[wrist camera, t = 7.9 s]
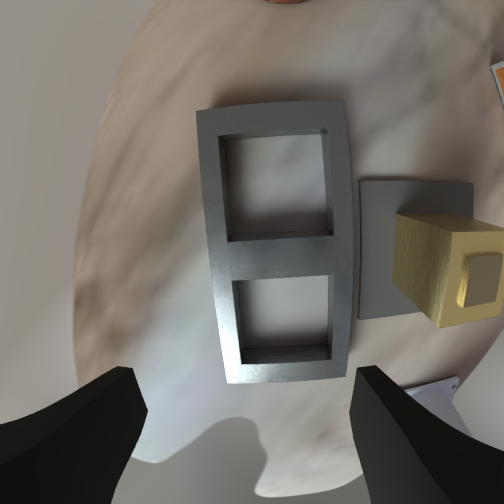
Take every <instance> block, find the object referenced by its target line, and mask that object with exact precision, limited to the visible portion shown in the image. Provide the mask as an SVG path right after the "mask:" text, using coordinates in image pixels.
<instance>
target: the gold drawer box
mask: <svg viewBox="0 0 504 504" xmlns="http://www.w3.org/2000/svg"><path fill="white" fill-rule="evenodd" d="M392 283H393V284H394V285H395V286H396V287H397V288H398V289H399V290H400V291H401V292H402V293H403V294H405V295H406V296H407V297H408V298H409V299H410V300H411V301H412V302H413V303H414V304H415V305H416V306H417V307H418V308H419V309H420V310H421V311H422V312H423V313H424V314H425V315H426V316H427V317H428V318H429V319H430V320H431V321H432V322H433V323H434V324H435V325H436V326H437V327H438V328H444V327H449V326H455V325H459V324H464V323H469V322H473V321H478V320H482V319H486V318H490V317H495V316H498V315H500V313H501V309H502V304H503V300H504V228H502V227H499V226H495V225H492V224H489V223H485V222H481V221H478V220H474V219H470V218H466V217H463V216H459V215H455V214H451V213H395V242H394V261H393V275H392Z"/></svg>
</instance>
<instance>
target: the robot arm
mask: <svg viewBox="0 0 504 504" xmlns="http://www.w3.org/2000/svg"><path fill="white" fill-rule="evenodd" d="M459 380H460V379H459V377H458V376H455V377H451V378H448V379H445V380H441V381H437V382H434V383H430V384H426V385H422V386H418V387H414V388H409V389H405V390H403V389H402V388H401V387H399V386H398V385H397V384H396V383H395V382H394V381H393V380H392V379H390V378H389V377H388V376H387V375H386V374H385V373H384V372H383V371H382V370H380V369H379V368H378V367H377V366H376V365H373V366H366V367H358V368H357V371H356V378H355V384H354V390H353V395H352V401H351V406H350V411H349V415H350V421H351V427H352V433H353V439H354V442H355V446H356V449H357V453H358V456H359V459H360V463H361V466H362V470H363V473H364V476H365V480H366V483H367V487H368V490H369V495H370V499H371V504H504V451H502V450H499V449H497V448H494V447H492V446H489V445H487V444H484V443H482V442H480V441H478V440H476V439H474V438H473V436H472V435H471V433H470V431H469V430H468V428H467V427H466V425H465V423H464V422H463V420H462V419H461V417H460V415H459V414H458V412H457V411H456V409H455V408H454V406H453V404H452V403H451V401H452V399H453V396H454V394H455V391H456V389H457V386H458V383H459ZM147 413H148V409H147V407H146V404H145V402H144V399H143V396H142V394H141V391H140V388H139V386H138V383H137V380H136V377H135V374H134V371H133V368H128V367H120V366H117V367H115V368H113V369H111V370H109V371H108V372H106V373H104V374H103V375H101V376H99V377H98V378H96V379H94V380H93V381H91V382H90V383H88V384H86V385H85V386H83V387H81V388H80V389H78V390H77V391H75V392H73V393H72V394H70V395H68V396H66V397H65V398H63V399H61V400H59V401H57V402H55V403H53V404H52V405H50V406H48V407H46V408H44V409H42V410H40V411H37V412H35V413H33V414H31V415H28V416H25V417H23V418H20V419H18V420H14V421H11V422H7V423H4V424H0V504H111V501H112V498H113V495H114V492H115V489H116V486H117V484H118V481H119V479H120V477H121V475H122V473H123V471H124V468H125V466H126V464H127V462H128V460H129V458H130V456H131V454H132V452H133V450H134V448H135V446H136V444H137V441H138V439H139V437H140V435H141V432H142V429H143V426H144V423H145V419H146V416H147Z"/></svg>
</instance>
